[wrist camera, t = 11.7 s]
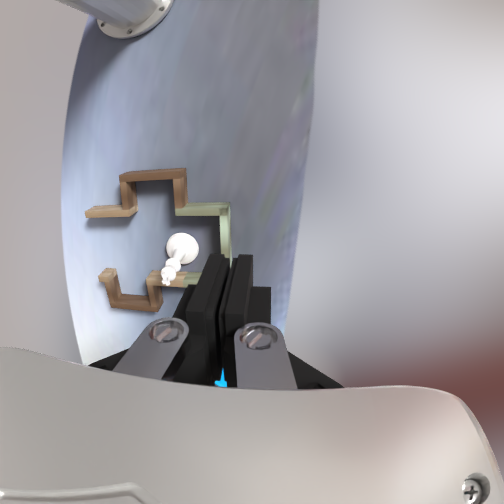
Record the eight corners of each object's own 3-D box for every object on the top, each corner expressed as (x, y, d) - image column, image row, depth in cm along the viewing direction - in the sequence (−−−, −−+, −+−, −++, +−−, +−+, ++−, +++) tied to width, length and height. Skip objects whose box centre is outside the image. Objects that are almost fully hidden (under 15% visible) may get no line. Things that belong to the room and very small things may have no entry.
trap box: (90, 175, 39) (80, 179, 37) (229, 166, 38) (225, 169, 35) (113, 297, 48) (106, 306, 45) (233, 306, 47) (231, 316, 44)
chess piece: (174, 265, 45) (155, 302, 36) (162, 237, 43) (138, 269, 34) (203, 258, 44) (189, 295, 35) (191, 228, 42) (173, 260, 33)
